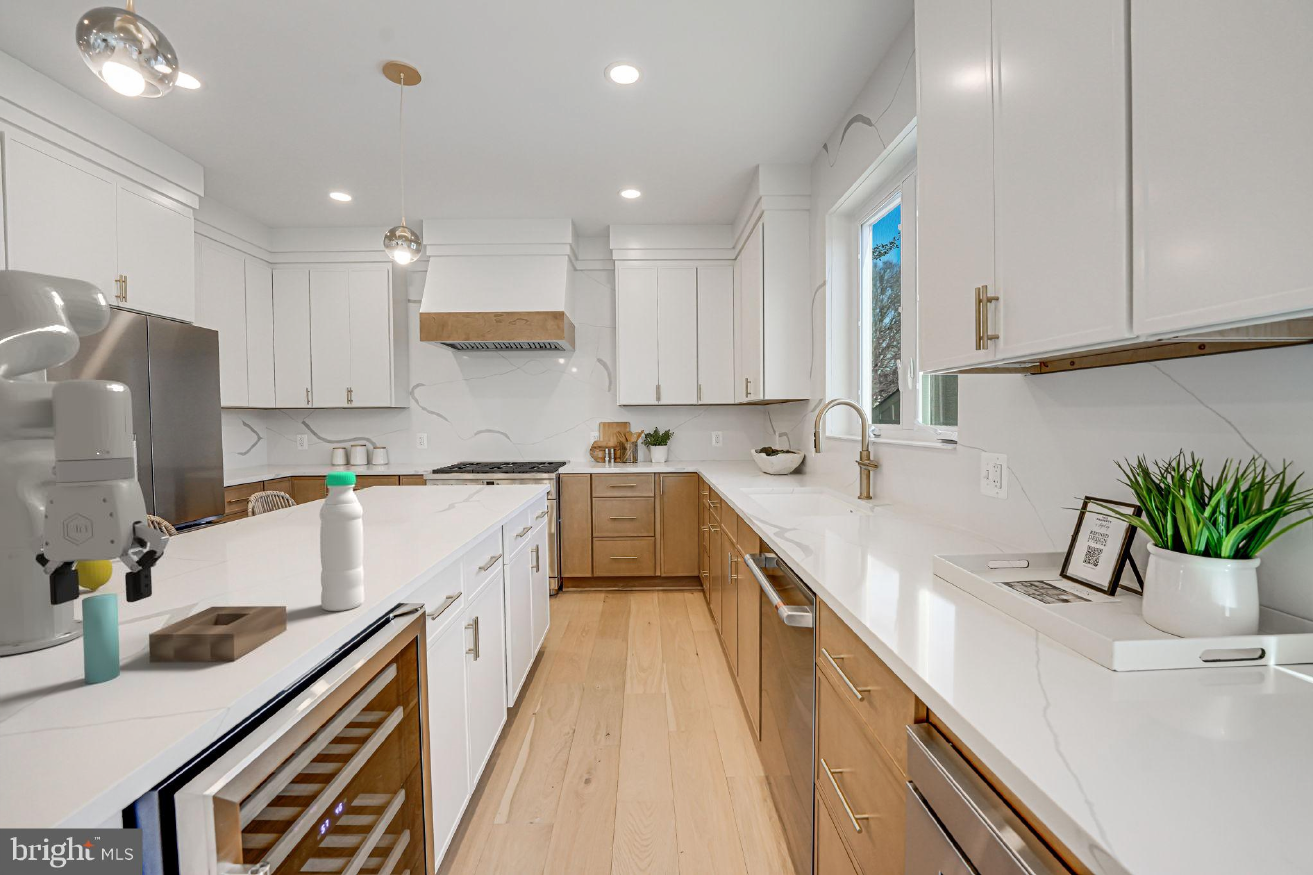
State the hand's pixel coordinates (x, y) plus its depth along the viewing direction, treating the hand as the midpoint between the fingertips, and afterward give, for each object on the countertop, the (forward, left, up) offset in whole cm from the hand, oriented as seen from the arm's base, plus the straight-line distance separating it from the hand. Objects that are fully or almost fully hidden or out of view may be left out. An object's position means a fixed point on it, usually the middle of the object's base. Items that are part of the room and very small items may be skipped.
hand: (102, 600), depth 76 cm
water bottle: (+16, +29, -11) cm, 35 cm away
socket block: (+7, +11, -11) cm, 17 cm away
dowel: (-1, 0, -11) cm, 11 cm away
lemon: (-39, +39, -11) cm, 56 cm away
